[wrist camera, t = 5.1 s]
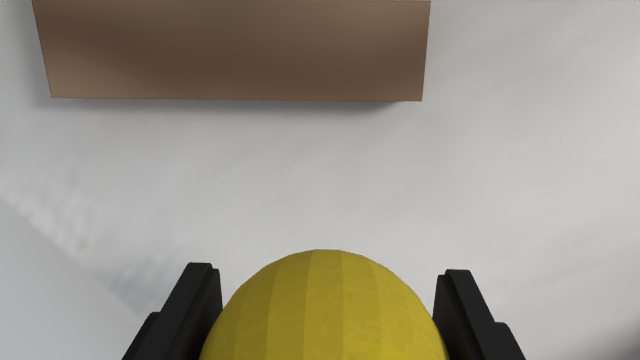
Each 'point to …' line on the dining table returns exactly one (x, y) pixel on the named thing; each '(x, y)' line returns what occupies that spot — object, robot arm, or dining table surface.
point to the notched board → (235, 49)
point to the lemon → (324, 314)
